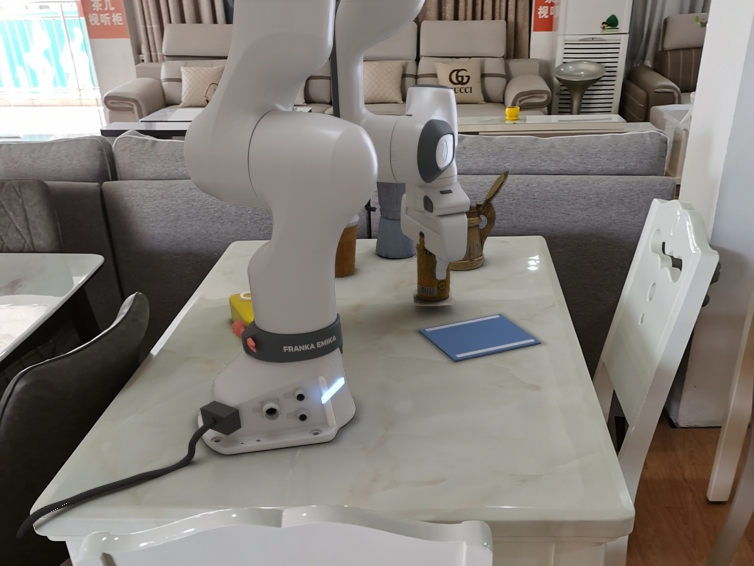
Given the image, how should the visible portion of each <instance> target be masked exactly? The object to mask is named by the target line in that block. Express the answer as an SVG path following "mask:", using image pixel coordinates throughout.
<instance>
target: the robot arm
mask: <svg viewBox="0 0 754 566" xmlns="http://www.w3.org/2000/svg"><path fill="white" fill-rule="evenodd" d="M425 2H426V0H338V1H337V0H233V18H232V33H231V40H230V46H229V51H228V55H227V59H226V62H225V65H224V69H223V71H222V75H221V77H220V79H219V82H218V85H217V87H216V89H215V90H214V93H213V95H212V97H211V98H210V100H209V102H208V103H207V105H206V106H205V107H204V108H203V109H202V111H200V112H199V113H198V114H197V115H196V116H195V117H194V118H193V120H191V122H190V124H189V125H188V127H187V129H186V132H185V136H184V140H183V160H184V164H185V165H184V166H185V168H186V171H187V174H188V176H189V178H190V180H191V182H192V183H193V184H194V186H195V187H196V188H197V189H198V190H200V191H201V192H203V193H204V194H207V195H209V196H211V197H213V198H215V199H217V200H220V201H222V202H224V203H227V204H230V205H233V206H238V207H246V208H251V209H253V208H254V209H259V210H266V211H270V214H271V216H272V233H271V238H270V240H269V241H267V242H265V243H264V244H262V245H261V246H259V247H258V248H257V249H256V250H255V251H254V252H253V254H252V256H251V257H250V259H249V261H248V263H247V264H248V265H247V278H248V279H247V280H248V285H249V291H250V293H251V300H252V307H253V314H254V319H253V321H252V322H251V323H250V324H249V325H248V326H247V325H246V323H245V322H244V321H242V320H236V321H235V322H233V323H232V324H231V330H232V332H233V333H234V334H235V336H236V337H237V338H238V339H241V343H242V347H243V350H242V351H240V353H239V354H237V356H235V357H234V358H233V360H231V362H229V363H228V364H226V366H225V367H224V368H223V369H221V370H220V372H218V373H217V374H216V375H215V376H214V378H213V380H212V383H211V389H210V402H209V403H207V404H205V405H203V406H201V407H199V412H198V415H197V427H198V429H197V430H196V431H195V432H194V433H193V434H192V436H191V438H190V439H189V442H188V447H187V454H186V455H185V456H184V457H182V458H181V460H179V461H177V462H176V463H174V464H172V465H169V466H165V467H162V468H158V469H153V470H148V471H144V472H141V473H137V474H135V475H131V476H128V477H126V478H125V477H124V478H122V479H119V480H115V481H112V482H109V483H106V484H102V485H99V486H95V487H93V488H90V489H87V490H85V491H81V492H80V493H77V494H75V495H73V496H69V497H68V498H64V499H62V500H59V501H55V502H52V503H49V504H47V505H44V506H41V507H40V508H38V509H37V510H35V511H33V512H32V513H31V514H30V515H29V516H27V518H26V519H25V520H24V521H23V522H22V524H21V525H20V527H19V529H18V530H17V532H16V535H15V538H16V539H23V538H24V537H26V536H27V535H28V532H29V530H30V529H31V528H32V526H33V525H35V523H36V522H37V521H39V520H40V519H41V518H43V517H44V516H46V515H48V514H51V513H53V512H56V511H58V510H62V509H64V508H67V507H71V506H73V505H75V504H78V503H81V502H83V501H86V500H88V499H90V498H93V497H96V496H99V495H102V494H105V493H108V492H111V491H115V490H118V489H122V488H124V487H127V486H130V485H133V484H134V485H135V484H136V483H139V482H142V481H146V480H149V479H154V478H155V479H156V478H159V477H162V476H164V475H167V474H170V473H173V472H175V471H178V470H180V469H183V468H185V467H186V466H188V465H189V464H190V463H191V462H192V461H193V460H194V458H195V456H196V452H197V450H196V449H197V444H198V442H199V441H200V439H201V438H202V440H203V442H204V443H205V444H206V445H207V446H208V447H209V448H210V449H212V450H214V451H215V452H217V453H219V454H222V455H235V454H243V453H251V452H258V451H266V450H274V449H281V448H290V447H296V446H305V445H311V444H319V443H320V444H321V443H327V442H331V441H333V439H335V437H336V436H337V433H338V431H339V430H340V429H341V428H342V427H344V426H345V425H346V424H348V423H349V422H350V421H351V420H352V419H353V418H354V416H355V414H356V412H357V411H356V410H357V409H356V404H355V402H354V399H353V397H352V394H351V391H350V388H349V385H348V380H347V376H346V373H345V367H344V362H343V357H342V355H343V354H344V348H343V347H344V346H343V345H344V333H343V326H342V322H341V321H342V320H341V315H340V314H339V313H337V310H338V309H337V298H336V297H337V296H336V295H337V293H336V277H335V256H336V251H337V246H338V243H339V240H340V237H341V234H342V232H343V230H344V228H345V227H346V225H347V224H348V222H349V221H350V220H351V219H352V218H353V217H354V215H356V214H357V215H358V213H359V212H361V211H362V210H363V209H365V205H366V204H367V203H368V202H369V201H371V200H370V199H371V198H372V196H373V195H374V192H375V189H376V187H377V182H387V183H405V188H406V194H404V195H403V197H402V201H401V230H402V233H403V234H404V235H405V236H407V237H409V238H410V239H412V240H413V241H414V249H415V252H416V253H415V256H416V257H417V247H418V245H419V244H420V243H419V237H420V236H419V233H420V231H421V232H423V233H424V236H425V238H424V241H425V245H424V246H425V248H426V249H427V250H428V251H430V252H432V253H433V254H435V255H436V261H437V265H436V268H434V277H435V278H437V279H438V280H442V279H445V278H446V269H447V267H448V264H449V262H452V261H458V260H462V259H463V257H464V255H465V253H466V246H467V217H466V214H465V213H464V212H465V211H468V210H469V206H470V205H471V202H470V197H468V195H467V194H466V192H465V191H464V190H463V188H462V186H461V184H460V181H458V167H457V164H456V153H457V149H458V145H459V125H458V123H459V122H458V109H457V108H458V107H457V101H456V95H455V91H454V89H452V88H451V87H450V86H448V85H443V84H432V83H430V84H429V83H419V84H413V85H411V86H409V87H408V88H407V92H406V100H405V111H404V114H402V115H397V114H396V115H394V114H376V113H373V112H371V111H370V110H368V109H367V107H366V105H365V82H364V81H365V80H364V79H365V78H364V55H365V52H366V51H368V49H370V48H372V47H374V46H376V45H378V44H380V43H383V42H384V41H387V40H389V39H391V38H393V37H394V36H397V35H398V34H399V33H401V32H403V30H405V29H406V28H407V27H408V26H410V24H411V23H412V22H413V21H415V19H416V18H417V17H418V16H419V14H420V12H421V10H422V9H423V7H424V4H425ZM328 60H329V70H330V72H329V73H330V87H331V88H330V89H331V103H332V115H331V114H328V113H322V112H310V111H308V112H307V111H295V110H294V106H295V102H296V99H297V97H298V94H299V92H300V90H301V88H302V86H303V85H304V84H305V82H306V81H307V79H308V78H309V77H310V76H312V75H313V74H315V73H316V72H317V71H319V70H320V69H321V68H323V67H324V66H325V65H326V63H327V62H328ZM66 503H67V504H66ZM64 504H65V505H64ZM62 505H63V506H62ZM57 508H58V509H57ZM55 509H56V510H55ZM53 510H54V511H53ZM51 511H52V512H51Z"/></svg>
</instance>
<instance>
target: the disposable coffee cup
mask: <svg viewBox="0 0 754 566" xmlns="http://www.w3.org/2000/svg"><path fill="white" fill-rule="evenodd" d="M359 220H360V215H359V214H358V213H357V214H356V215H354V217H353V218H352V219H351V220H350V221H349V222H348V224H347V225H346V227H345V228H344V230H343V232H342V234H341V237H340V240H339V243H338V246H337V251H336V256H335V278H342V277H347V276H351V275H353V274H354V273H355V268H356V266H355V265H356V251H357V232H358V231H357V230H358V223H359Z"/></svg>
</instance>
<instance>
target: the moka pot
mask: <svg viewBox="0 0 754 566" xmlns="http://www.w3.org/2000/svg"><path fill="white" fill-rule="evenodd" d="M376 191H377V199H378V200H377V201H378V205H379V209H378V208H377V207H376V206H371V205H370V202H369V201H368V203H367V204H366V205H365V206H364V209H365V211H367V212H371V213H375V212H376V211H377V209H378V210H379V212H380V216H379V221H378V222H379V223H378V228H377V229H378V230H377V237H376V243H375V252H376V254H377V255H379V256H381V257H384V258H388V259H407V258H410V257H411V258H412V257H414V256H415V255H416V252H415V249H414V241H413V240H412V239H410V238H409V237H407V236H405V235H404V234H403V233H402V230H401V201H402V197H403V195H404V194H406V188H405V183H387V182H376Z"/></svg>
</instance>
